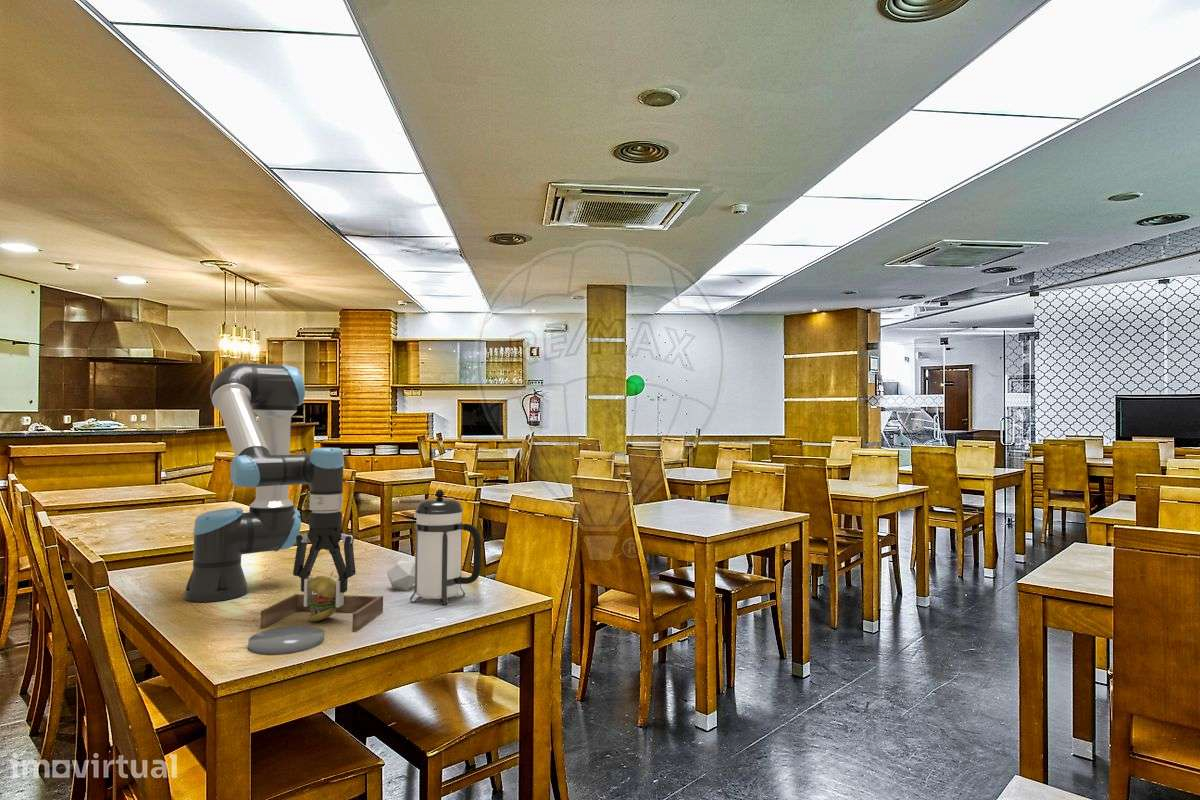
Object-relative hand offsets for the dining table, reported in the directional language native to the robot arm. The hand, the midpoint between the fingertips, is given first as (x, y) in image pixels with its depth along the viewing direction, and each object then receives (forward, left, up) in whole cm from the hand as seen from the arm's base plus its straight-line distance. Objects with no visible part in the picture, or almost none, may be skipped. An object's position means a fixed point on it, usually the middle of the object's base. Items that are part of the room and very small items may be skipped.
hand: (323, 605), depth 166 cm
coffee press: (+23, +22, -4) cm, 32 cm away
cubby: (0, 0, -4) cm, 4 cm away
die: (+8, +33, -4) cm, 34 cm away
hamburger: (0, 0, -4) cm, 4 cm away
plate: (0, -17, -4) cm, 17 cm away
